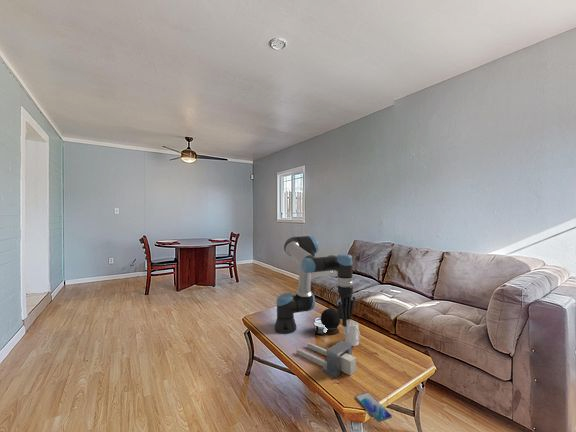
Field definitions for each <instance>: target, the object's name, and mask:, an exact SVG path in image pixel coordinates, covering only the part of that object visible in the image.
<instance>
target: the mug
mask: <svg viewBox="0 0 576 432" xmlns="http://www.w3.org/2000/svg"><path fill="white" fill-rule="evenodd" d="M349 323H350V324H349V333H345V332H344V341H346V342H348V343H351V344H352V347H356V346H359V344H360V343H359V342H360V340H361V338H362V337H361V332H360V330H359V323H358V322H357V321H354V320H349Z"/></svg>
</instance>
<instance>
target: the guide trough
mask: <svg viewBox="0 0 576 432" xmlns="http://www.w3.org/2000/svg"><path fill="white" fill-rule="evenodd" d="M306 344H307V346H306V347H307V348H308V349H310V350H312V351H315V352H316V353H320V354H322V355H324V356H325V357H326V356H327V349H325V348H324V347H321V346H318V345H316V344H314V343H312V342H307V343H306ZM296 354H297V355H298V356H300V357H303V358H305V359H307V360H309V361H311V362H313V363H315V364H317V365H319V366H321V367H322V368H323V367H324V366H327V361H326V359H325V360H324V359H322V358H320V357H319V356H315V355H314V354H312V353H310V352H307V351H306V350H303V349H301V348H297V349H296Z"/></svg>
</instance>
